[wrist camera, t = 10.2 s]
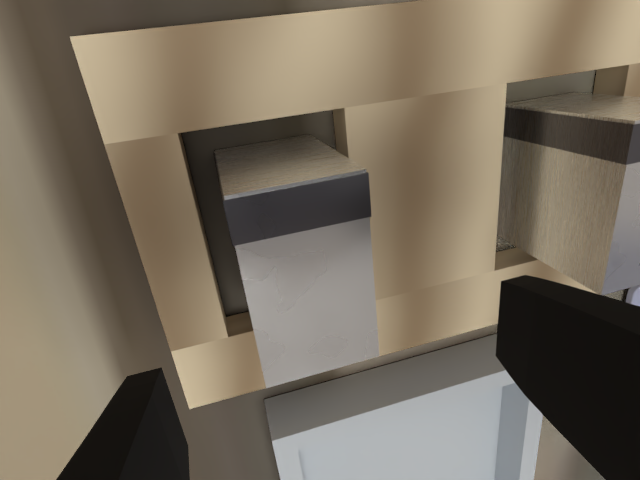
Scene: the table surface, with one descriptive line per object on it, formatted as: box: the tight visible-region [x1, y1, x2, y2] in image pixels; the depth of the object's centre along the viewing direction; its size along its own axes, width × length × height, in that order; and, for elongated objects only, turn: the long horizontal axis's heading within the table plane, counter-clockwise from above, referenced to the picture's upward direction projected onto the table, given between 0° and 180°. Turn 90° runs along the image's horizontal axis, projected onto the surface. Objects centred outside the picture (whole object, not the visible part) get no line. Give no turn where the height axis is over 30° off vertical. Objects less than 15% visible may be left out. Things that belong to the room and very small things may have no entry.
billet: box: [497, 92, 640, 295], centre depth 16 cm, size 4×6×6 cm, turn 6°
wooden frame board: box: [70, 0, 640, 409], centre depth 17 cm, size 22×14×2 cm, turn 96°
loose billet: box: [214, 134, 379, 388], centre depth 14 cm, size 4×6×6 cm, turn 7°
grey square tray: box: [264, 334, 543, 480], centre depth 23 cm, size 14×14×2 cm
